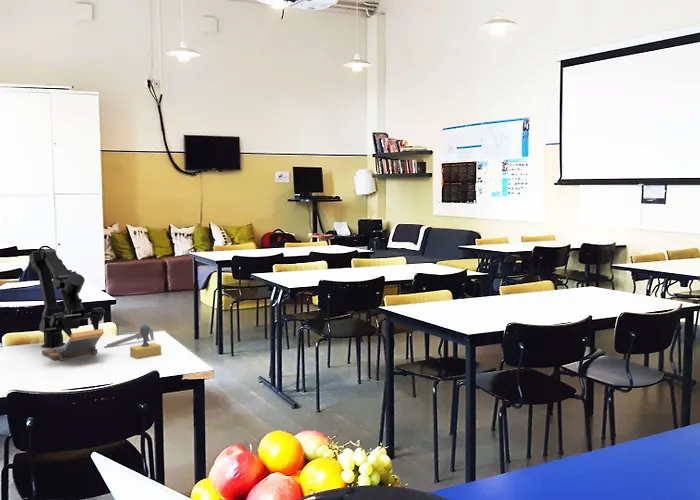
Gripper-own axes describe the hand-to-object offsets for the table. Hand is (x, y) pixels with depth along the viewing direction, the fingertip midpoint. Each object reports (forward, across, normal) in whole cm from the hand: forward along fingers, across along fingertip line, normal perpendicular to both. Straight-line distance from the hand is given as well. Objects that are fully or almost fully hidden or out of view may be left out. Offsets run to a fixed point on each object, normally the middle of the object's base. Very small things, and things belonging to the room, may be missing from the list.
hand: (84, 336), depth 249 cm
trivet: (-3, 0, -17) cm, 17 cm away
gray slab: (0, 0, -10) cm, 10 cm away
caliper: (-3, -24, -18) cm, 30 cm away
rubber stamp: (+12, -20, -2) cm, 23 cm away
